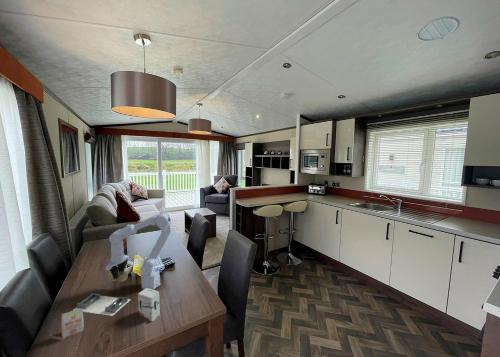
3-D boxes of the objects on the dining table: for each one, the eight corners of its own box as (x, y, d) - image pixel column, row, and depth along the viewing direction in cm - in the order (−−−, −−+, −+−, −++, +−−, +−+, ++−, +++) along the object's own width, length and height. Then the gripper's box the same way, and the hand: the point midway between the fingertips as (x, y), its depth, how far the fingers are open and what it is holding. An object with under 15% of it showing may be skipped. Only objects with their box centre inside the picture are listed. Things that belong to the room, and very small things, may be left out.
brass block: (127, 278, 121) (127, 271, 120) (123, 282, 117) (122, 274, 117) (113, 277, 122) (113, 270, 122) (108, 280, 119) (108, 273, 118)
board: (131, 301, 111) (130, 299, 111) (112, 317, 100) (112, 315, 99) (94, 296, 115) (94, 294, 115) (72, 311, 103) (72, 309, 103)
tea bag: (63, 334, 90) (62, 311, 89) (83, 327, 94) (82, 305, 93) (61, 340, 87) (60, 317, 86) (83, 333, 91) (81, 310, 90)
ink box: (138, 317, 100) (137, 293, 99) (146, 310, 105) (146, 287, 104) (152, 322, 97) (151, 297, 96) (160, 315, 102) (159, 291, 101)
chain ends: (127, 301, 110) (127, 297, 110) (114, 313, 101) (114, 309, 101) (92, 296, 113) (92, 293, 113) (76, 307, 105) (76, 303, 104)
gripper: (121, 247, 126) (121, 269, 127) (100, 258, 112) (101, 282, 113) (131, 248, 125) (132, 270, 126) (111, 259, 111) (113, 284, 112)
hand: (118, 276), depth 120 cm, fingers closed on brass block, 4 cm apart
